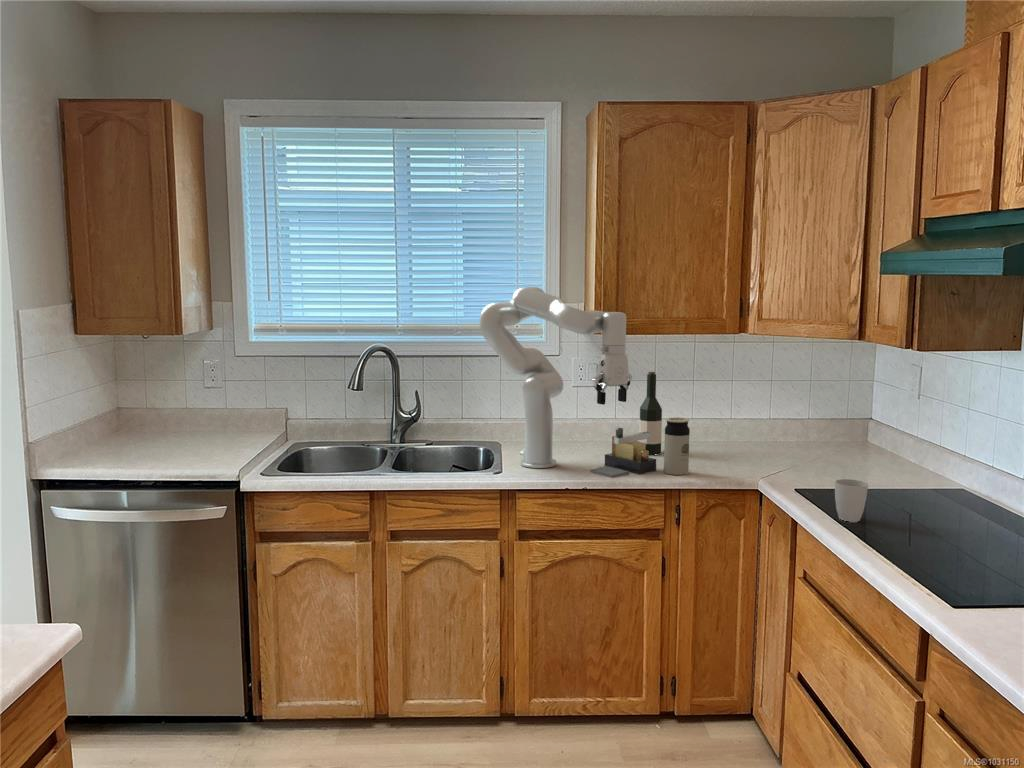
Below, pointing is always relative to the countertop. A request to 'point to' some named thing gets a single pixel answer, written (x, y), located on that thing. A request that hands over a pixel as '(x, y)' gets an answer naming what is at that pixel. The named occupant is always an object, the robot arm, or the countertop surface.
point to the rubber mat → (609, 471)
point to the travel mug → (676, 446)
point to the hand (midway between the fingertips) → (611, 402)
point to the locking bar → (630, 436)
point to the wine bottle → (651, 417)
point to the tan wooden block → (630, 450)
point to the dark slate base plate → (631, 462)
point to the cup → (850, 499)
